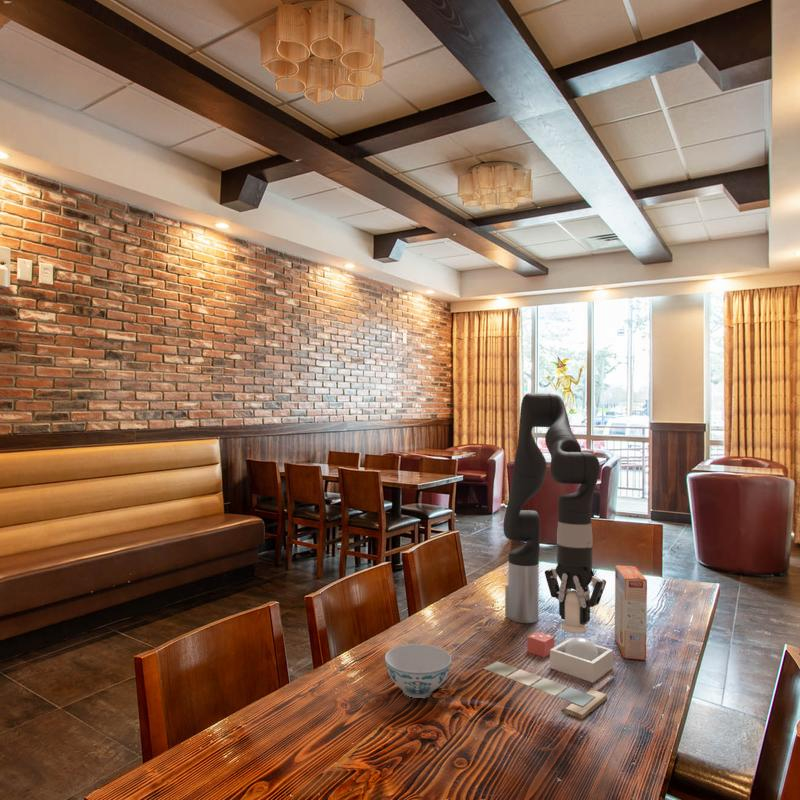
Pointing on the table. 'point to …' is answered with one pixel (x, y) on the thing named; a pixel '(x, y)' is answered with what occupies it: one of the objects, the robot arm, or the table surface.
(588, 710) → the board
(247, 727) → the table surface
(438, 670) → the chinaware
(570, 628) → the pawn
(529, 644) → the die
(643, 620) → the cracker box
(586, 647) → the dome
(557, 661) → the button housing
